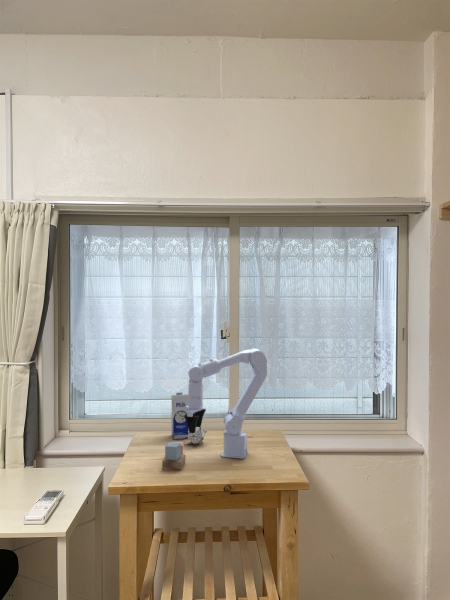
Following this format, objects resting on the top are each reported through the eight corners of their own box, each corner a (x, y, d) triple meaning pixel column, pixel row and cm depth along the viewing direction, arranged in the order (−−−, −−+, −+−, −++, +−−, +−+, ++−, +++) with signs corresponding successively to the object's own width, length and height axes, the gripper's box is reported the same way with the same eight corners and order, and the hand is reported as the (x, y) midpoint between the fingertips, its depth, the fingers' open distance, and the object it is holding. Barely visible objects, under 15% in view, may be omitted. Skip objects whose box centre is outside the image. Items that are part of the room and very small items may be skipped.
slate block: (180, 456, 163) (180, 443, 163) (176, 460, 159) (176, 447, 159) (169, 455, 164) (169, 442, 164) (165, 459, 160) (165, 446, 160)
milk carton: (172, 439, 191) (172, 395, 190) (171, 434, 197) (171, 391, 197) (188, 438, 192) (188, 394, 192) (186, 433, 199) (186, 390, 199)
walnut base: (185, 463, 164) (185, 454, 164) (180, 471, 157) (180, 461, 157) (167, 462, 165) (167, 453, 165) (162, 470, 158) (162, 460, 158)
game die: (200, 453, 185) (210, 437, 181) (182, 447, 183) (191, 432, 178) (200, 436, 193) (209, 422, 188) (182, 431, 190) (191, 416, 186)
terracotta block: (183, 453, 174) (183, 441, 174) (182, 458, 170) (182, 445, 169) (172, 454, 174) (172, 441, 174) (171, 458, 169) (171, 445, 169)
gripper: (191, 391, 180) (191, 423, 180) (179, 399, 166) (179, 434, 166) (207, 392, 178) (207, 425, 178) (197, 400, 164) (196, 436, 164)
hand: (195, 429), depth 172 cm, fingers open, 7 cm apart
